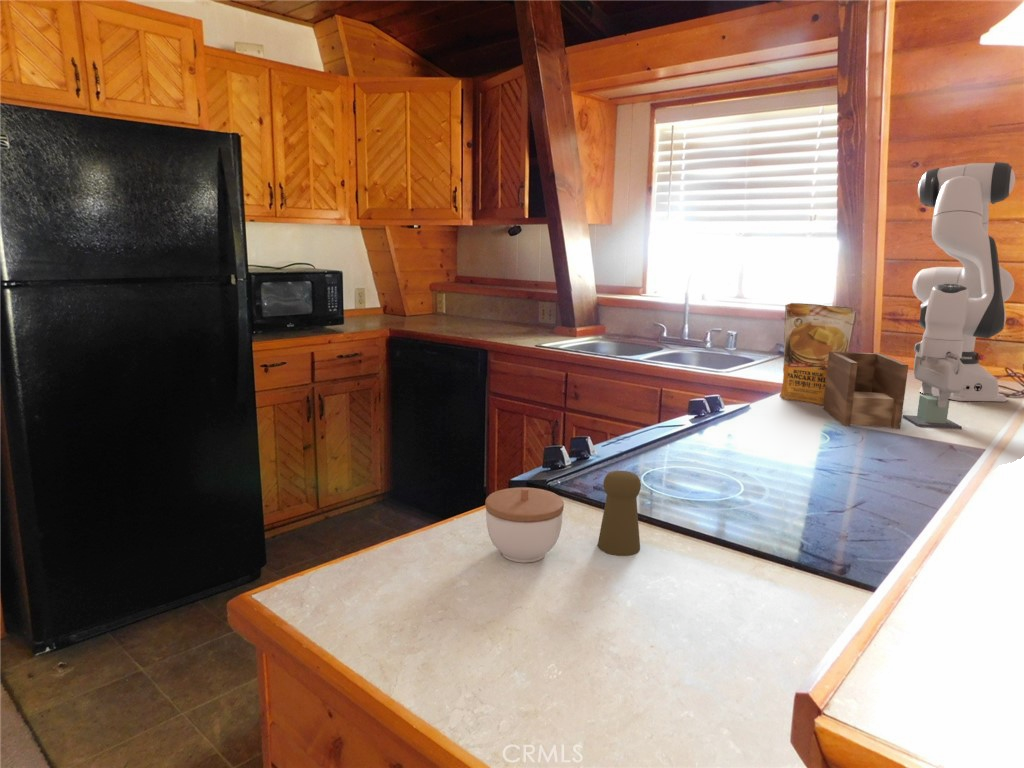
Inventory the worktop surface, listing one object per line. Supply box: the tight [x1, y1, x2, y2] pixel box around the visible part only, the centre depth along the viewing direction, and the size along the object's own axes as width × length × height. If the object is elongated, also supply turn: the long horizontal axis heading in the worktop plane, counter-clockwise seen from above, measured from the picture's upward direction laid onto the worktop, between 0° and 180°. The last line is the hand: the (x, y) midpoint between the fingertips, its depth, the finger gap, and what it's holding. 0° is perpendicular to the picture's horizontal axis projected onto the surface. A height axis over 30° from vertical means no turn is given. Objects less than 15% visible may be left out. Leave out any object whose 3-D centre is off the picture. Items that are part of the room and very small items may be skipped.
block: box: [916, 394, 951, 423], centre depth 173 cm, size 5×5×6 cm
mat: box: [902, 414, 963, 430], centre depth 174 cm, size 10×10×1 cm
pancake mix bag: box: [779, 302, 857, 406], centre depth 195 cm, size 7×19×28 cm, turn 45°
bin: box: [822, 351, 909, 430], centre depth 176 cm, size 13×20×16 cm, turn 170°
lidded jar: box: [484, 486, 565, 564], centre depth 93 cm, size 11×11×9 cm
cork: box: [597, 470, 642, 557], centre depth 96 cm, size 6×6×11 cm
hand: (933, 403), depth 173 cm, fingers open, 7 cm apart
